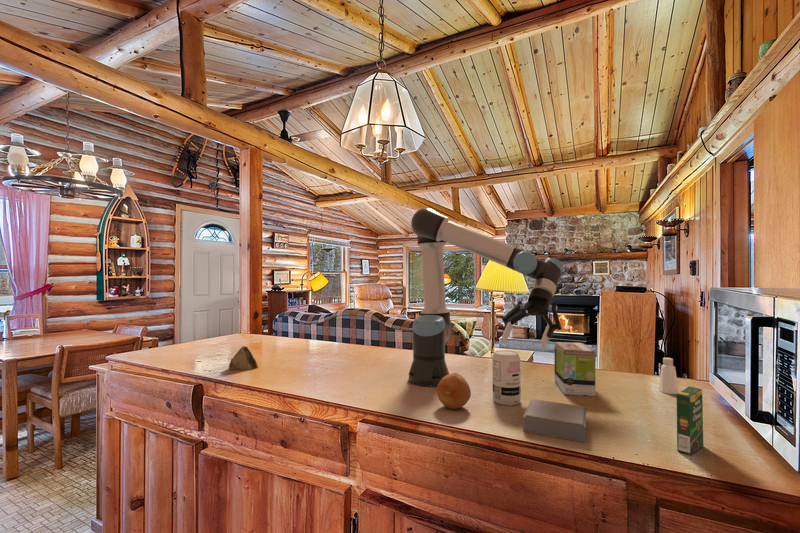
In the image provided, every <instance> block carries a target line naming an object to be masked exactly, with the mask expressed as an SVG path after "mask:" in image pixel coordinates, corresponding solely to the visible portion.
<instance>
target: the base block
mask: <svg viewBox="0 0 800 533" xmlns="http://www.w3.org/2000/svg"><path fill="white" fill-rule="evenodd" d="M528 403H529V404H528V405H527V407H526V410H525V411H524V414H523V416H522V425H523V426H522V431H523V432H525V433H531V434H535V435H540V436H541V435H542V436H547V437H550V438H551V437H552V438H553V437H554V438H557V439H563V440H568V441H569V440H570V441H574V442H577V443H578V442H580V443H584V444H586V443H587V439H586V438H587V407H585V406H583V405H576V404H567V403H564V402H563V403H561V402H555V401H549V400H541V399H535V398H532V399H530V401H529V402H528Z"/></svg>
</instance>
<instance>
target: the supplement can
mask: <svg viewBox="0 0 800 533" xmlns="http://www.w3.org/2000/svg"><path fill="white" fill-rule="evenodd" d="M521 392H522V387H521V357H520V355H519V353H518V352H517V351H513V350H506V349H505V350H496V351H494V353H493V355H492V399H493V400H494V402H495V403H497V404H498V405H502V406H511V407H512V406H517V405H518V404H519V403H521V400H522V398H521V397H522V396H521Z"/></svg>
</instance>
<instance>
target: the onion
mask: <svg viewBox="0 0 800 533" xmlns="http://www.w3.org/2000/svg"><path fill="white" fill-rule="evenodd" d="M435 390H436V394H437V397H438V400H439V402H440V403H441V404H442V405H443V406H444V407H445V408H449V409H450V410H458V409H460V408H462V407H464V406H465V405H466V404H467V403H468V402H469V401H470V398H471V395H472V391H471V388H470V385H469V383H468V381H467V380H466V379H465V377H463V376H462V375H461V374H459V373H457V372H451V373H449V374H448V375H446V376H445V377H443V378H442V380H441V381H440V382H439V384H438V386H436V389H435Z"/></svg>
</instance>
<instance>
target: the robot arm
mask: <svg viewBox="0 0 800 533" xmlns="http://www.w3.org/2000/svg"><path fill="white" fill-rule="evenodd" d="M410 221H411V222H410V225H411V229H412V230H413V232H414V234H415V235H416V237H417V240H416V241H417V247H419V248H420V249H421V261H422V262H421V264H422V265H421V266H422V283H423V304H424V308H423V309H422V311H420V315H419V316H416V317H415V318H414V319H413V322H412V350H413V351H412V355H413V357H412V363H411V366H410V369H409V371H408V382H409V383H411V384H413V385H415V386H421V387H437V386H438V384H439V382H440V381H441V380H442V378H443V377H445V376H446V375H448V374H450V372H449V369H448V366H447V362H446V358H445V357H446V350H445V349H446V347H445V345H446V344H445V343H447V342H448V340H449V339H450V338H451V336H452V333H453V323H452V321H451V312H450V309H448V308H447V307H446V306H447V305H446V290H445V289H446V288H445V287H446V286H445V284H446V283H445V269H444V267H445V265H444V247H445V246H446V244H447V243H448V244H449V245H453V246H454V247H457V248H460V249H462V250H465V251H467V252H470V253H471V254H474V255H477V256H479V257H481V258H484V259H485V260H489V261H492V262H494V263H496V264H498V265H500V266H503V267H505V268H508V269H510V270H512V271H514V272H516V273H517V272H518V274H522V275H524V276H527V277H529V278H532V279H534V280H535V282H534V283H533V286H532V288H531V291H530V293H529V294H528V295H529V296H528V299H527V301H526V303H525V302H522V301H521V300H519V301H518V302H517V303H516V305H515V306H514V307H513V308H512V309H510V311H508V312H507V313H506V314H505V315H504V316H503V317H502V318H501V321H502V322H503V324H504V326H503V328H502V330H503V333H502V335H501V339H502V340H503V342H504V343H507V341H508V340H509V338H510V334H511V332H512V330H513V325H515V324H516V323H518V322H519V321H521V320H522V319H524V318H528V317H529V316H530V317H531V316H533V317H535V316H536V317H540V316H542V317H543V319H544V320H545V322H546V324H547V325H546V326H545V329H544V330H543V331H544V332H543V334H542V337H541V339H540V344H541V346H542V348H546V347H547V345H548V343H549V342H548V341H549V339H551V338H552V337H553V336H554V332H555V331H556V330H557V331H561V330H562V324H561V321H560V316H559V314H558V312H559V311H558V310H559V307H558V305H557V303H555V302H552V300H553V298H554V296H555V293H556V291H557V287H558V285H559V282H560V280H561V278H562V276H563V275H562V274H563V271H564V265H563V263H562V261H560V260H559V259H557V258H551V257H548V258H546V259H544V260H542V259H539V258H537V257H536V255H534V254H533V252H530V251H527V250H523V249H520V248H518V247H516V246H513V245H511V244H508V243H506V242H503V241H501V240H498V239H495V238H493V237H491V236H489V235H485V234H483V233H481V232H478V231H475V230H473V229H471V228H468V227H466V226H463V225H461V224H458V223H456V222H453V221H450V218H449V217H448V216H445V215H443V214H441V213H440V212H437V211H436V210H435V209H433V208H430V207H423V208H420V209H418V210H417V211H415V213H413V215H412V217H411V220H410ZM551 303H552V304H551ZM549 310H550V311H551V312H552V316H553V319H554V322H552V320H551V318H550V317H549V315H548V314H547V313H546V312H548V311H549Z"/></svg>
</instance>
